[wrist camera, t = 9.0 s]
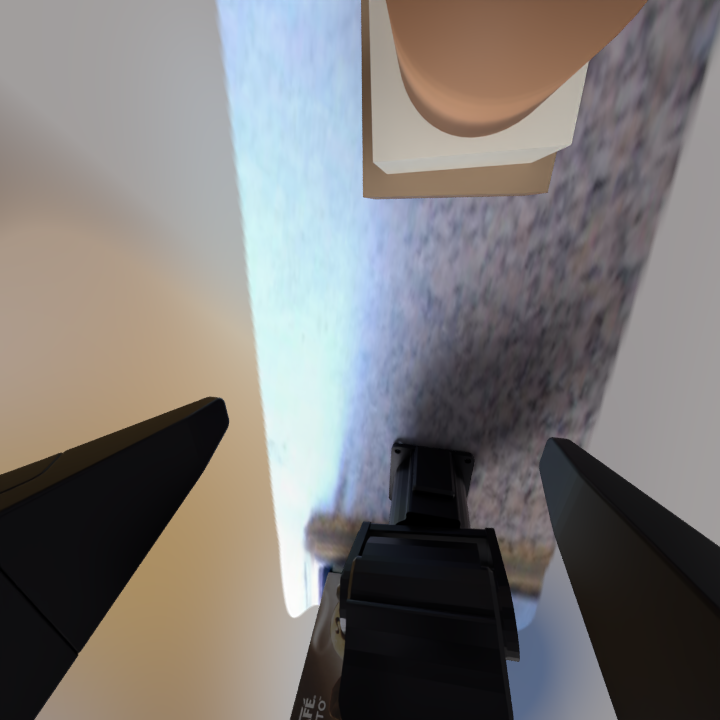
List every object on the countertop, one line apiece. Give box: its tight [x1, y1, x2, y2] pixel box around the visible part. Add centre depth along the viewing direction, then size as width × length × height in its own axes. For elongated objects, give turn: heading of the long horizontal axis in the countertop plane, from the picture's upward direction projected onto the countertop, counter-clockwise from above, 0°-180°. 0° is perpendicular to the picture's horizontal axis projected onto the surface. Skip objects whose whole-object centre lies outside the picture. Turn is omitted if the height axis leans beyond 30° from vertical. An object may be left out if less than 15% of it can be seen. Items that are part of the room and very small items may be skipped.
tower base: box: [361, 0, 557, 199], centre depth 14 cm, size 8×8×4 cm
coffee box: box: [290, 572, 345, 720], centre depth 29 cm, size 9×6×16 cm
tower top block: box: [369, 0, 589, 174], centre depth 10 cm, size 6×6×4 cm
